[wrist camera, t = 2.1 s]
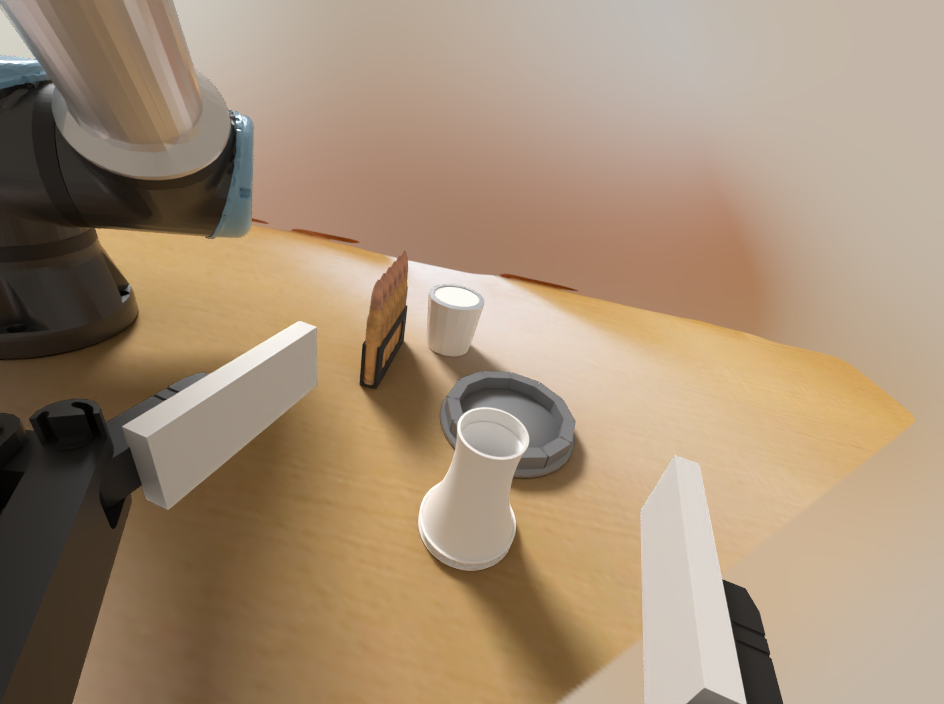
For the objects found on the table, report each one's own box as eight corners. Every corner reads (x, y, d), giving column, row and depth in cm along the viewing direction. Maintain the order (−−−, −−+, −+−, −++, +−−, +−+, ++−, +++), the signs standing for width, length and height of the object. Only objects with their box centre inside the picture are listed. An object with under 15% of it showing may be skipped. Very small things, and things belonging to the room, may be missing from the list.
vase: (429, 580, 29) (454, 483, 24) (409, 491, 35) (425, 397, 30) (528, 560, 32) (569, 469, 26) (493, 480, 38) (522, 392, 32)
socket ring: (417, 442, 39) (419, 426, 38) (466, 369, 51) (469, 354, 50) (562, 501, 37) (570, 485, 36) (579, 409, 49) (585, 395, 48)
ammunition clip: (376, 389, 45) (385, 286, 38) (358, 385, 45) (365, 281, 39) (403, 340, 54) (415, 250, 48) (389, 336, 54) (398, 246, 48)
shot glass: (470, 332, 59) (480, 286, 55) (477, 361, 53) (489, 312, 49) (420, 328, 57) (427, 280, 54) (422, 356, 52) (430, 305, 48)
